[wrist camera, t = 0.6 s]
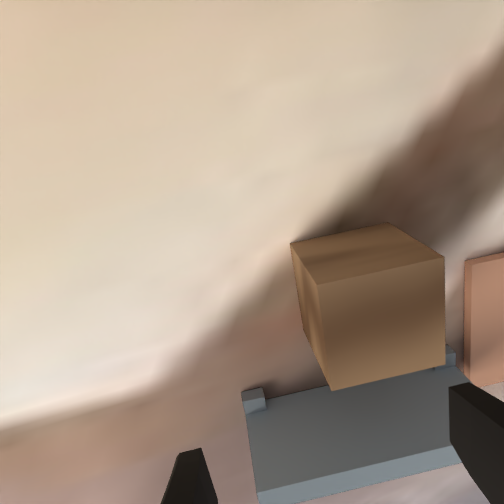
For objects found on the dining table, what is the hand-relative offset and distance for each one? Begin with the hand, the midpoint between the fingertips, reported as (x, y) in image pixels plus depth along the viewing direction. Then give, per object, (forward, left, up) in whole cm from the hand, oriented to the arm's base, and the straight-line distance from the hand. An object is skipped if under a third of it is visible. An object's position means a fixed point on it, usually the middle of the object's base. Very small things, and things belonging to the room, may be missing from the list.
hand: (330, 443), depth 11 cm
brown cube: (0, -4, -10) cm, 10 cm away
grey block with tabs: (-7, -3, -10) cm, 12 cm away
